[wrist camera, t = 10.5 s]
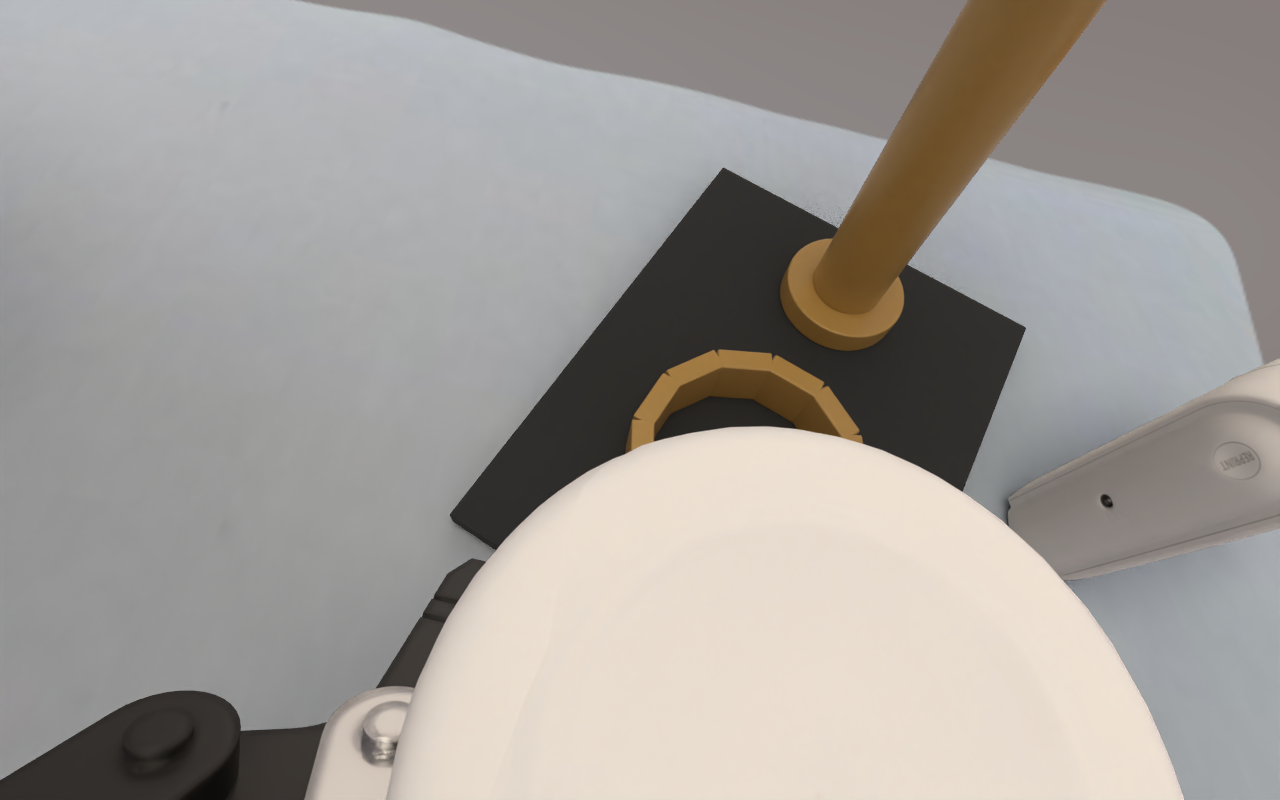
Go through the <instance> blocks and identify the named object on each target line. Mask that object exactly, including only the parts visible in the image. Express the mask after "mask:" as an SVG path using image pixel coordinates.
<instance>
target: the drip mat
mask: <svg viewBox="0 0 1280 800" xmlns="http://www.w3.org/2000/svg"><path fill="white" fill-rule="evenodd" d="M838 229H839V228H837V227H835V226H833V225H831V224H829V223H827V222H825V221H823V220H822V219H820V218H818V217H816V216H814V215H812V214H810V213H808V212H806V211H804V210H803V209H801V208H799V207H797V206H795V205H793V204H791V203H789V202H787V201H786V200H784V199H782V198H780V197H778V196H776V195H774V194H772V193H770V192H769V191H767V190H765V189H763V188H761V187H759V186H757V185H755V184H753V183H752V182H750V181H748V180H746V179H744V178H742V177H740V176H738V175H736V174H735V173H733V172H731V171H729V170H727V169H725V168H723V169H722V170H721V171H720V172H719V174H718V175H717V176H716V177H715V179H714V180H713V181H712V182H711V184H710V185H709V186H708V188H707V189H706V190H705V191H704V193H703V194H702V195H701V196H700V198H699V199H698V200H697V202H696V203H695V204H694V205H693V207H692V208H691V209H690V210H689V212H688V213H687V214H686V215H685V217H684V218H683V219H682V221H681V222H680V223H679V224H678V226H677V227H676V228H675V229H674V231H673V232H672V233H671V235H670V236H669V237H668V238H667V240H666V241H665V242H664V243H663V245H662V246H661V247H660V248H659V250H658V251H657V252H656V254H655V255H654V256H653V257H652V259H651V260H650V261H649V262H648V264H647V265H646V266H645V267H644V269H643V270H642V271H641V273H640V274H639V275H638V276H637V278H636V279H635V280H634V281H633V283H632V284H631V285H630V287H629V288H628V289H627V290H626V292H625V293H624V294H623V295H622V297H621V298H620V299H619V300H618V302H617V303H616V304H615V306H614V307H613V308H612V309H611V311H610V312H609V313H608V314H607V316H606V317H605V318H604V320H603V321H602V322H601V323H600V325H599V326H598V327H597V328H596V330H595V331H594V332H593V333H592V335H591V336H590V337H589V339H588V340H587V341H586V342H585V344H584V345H583V346H582V347H581V349H580V350H579V351H578V353H577V354H576V355H575V356H574V358H573V359H572V360H571V361H570V363H569V364H568V365H567V366H566V368H565V369H564V370H563V372H562V373H561V374H560V375H559V377H558V378H557V379H556V380H555V382H554V383H553V384H552V386H551V387H550V388H549V389H548V391H547V392H546V393H545V394H544V396H543V397H542V398H541V399H540V401H539V402H538V403H537V405H536V406H535V407H534V408H533V410H532V411H531V412H530V413H529V415H528V416H527V417H526V419H525V420H524V421H523V422H522V424H521V425H520V426H519V427H518V429H517V430H516V431H515V432H514V434H513V435H512V436H511V438H510V439H509V440H508V441H507V443H506V444H505V445H504V446H503V448H502V449H501V450H500V452H499V453H498V454H497V455H496V457H495V458H494V459H493V460H492V462H491V463H490V464H489V465H488V467H487V468H486V469H485V471H484V472H483V473H482V474H481V476H480V477H479V478H478V479H477V481H476V482H475V483H474V485H473V486H472V487H471V488H470V490H469V491H468V492H467V493H466V495H465V496H464V497H463V498H462V500H461V501H460V502H459V504H458V505H457V506H456V507H455V509H454V510H453V511H452V512H451V514H450V516H451V518H452V520H453V522H455V523H456V524H458V525H459V526H461V527H462V528H464V529H465V530H467V531H468V532H470V533H471V534H473V535H474V536H476V537H477V538H479V539H480V540H482V541H483V542H485V543H486V544H488V545H489V546H491V547H492V548H494V549H495V550H497V549H498V547H499V546H500V545H501V544H502V543H503V541H504V540H505V539H506V538H507V537H508V536H509V535H510V534H511V533H512V532H513V531H514V530H515V529H516V528H517V527H518V526H519V525H520V524H521V523H522V522H523V521H524V520H525V519H526V518H527V517H528V516H529V515H530V514H531V513H532V512H533V511H535V510H536V509H537V508H538V507H539V506H540V505H541V504H543V503H544V502H545V501H546V500H548V499H549V498H550V497H551V496H553V495H554V494H555V493H557V492H558V491H559V490H561V489H562V488H564V487H565V486H567V485H568V484H570V483H571V482H573V481H574V480H576V479H577V478H579V477H580V476H582V475H583V474H585V473H586V472H588V471H590V470H592V469H594V468H596V467H598V466H600V465H602V464H604V463H606V462H608V461H610V460H612V459H614V458H616V457H619V456H622V455H624V454H626V444H627V439H628V435H629V431H630V427H631V422H632V420H633V417H634V414H635V412H636V411H637V410H638V408H639V407H640V405H641V404H642V402H643V401H644V400H645V398H646V397H647V395H648V394H649V392H650V391H651V390H652V388H653V387H654V385H655V384H656V382H657V381H658V379H659V378H660V377H661V375H662V374H663V373H665V374H666V371H667V370H668V369H671V368H673V367H675V366H678V365H680V364H682V363H685V362H687V361H689V360H692V359H694V358H696V357H698V356H701V355H703V354H705V353H708V352H710V351H712V350H714V351H715V352H716V354H717V351H718V350H720V349H721V350H733V351H746V352H759V353H770V354H772V360H773V358H774V356H776V355H777V356H779V357H781V358H783V359H784V360H786V361H788V362H790V363H791V364H793V365H795V366H797V367H798V368H800V369H802V370H804V371H806V372H807V373H809V374H811V375H813V376H814V377H816V378H818V379H820V380H821V381H823V382H824V385H823V387H825V386H828V387H829V388H830V389H831V391H832V392H833V394H834V395H835V396H836V398H837V399H838V401H839V402H840V404H841V405H842V406H843V408H844V409H845V411H846V412H847V413H848V415H849V416H850V418H851V419H852V420H853V422H854V423H855V425H856V426H857V427H858V429H859V433H858V434H857V435H861V436H862V440H863V444H865V445H868V446H871V447H874V448H877V449H880V450H883V451H885V452H887V453H890V454H892V455H894V456H896V457H899V458H901V459H903V460H905V461H908V462H910V463H912V464H914V465H917V466H918V467H920V468H922V469H924V470H926V471H928V472H930V473H932V474H934V475H936V476H938V477H939V478H941V479H942V480H944V481H946V482H947V483H949V484H950V485H952V486H954V487H955V488H957V489H958V490H960V491H963V489H964V486H965V483H966V481H967V478H968V476H969V473H970V471H971V468H972V465H973V463H974V460H975V458H976V455H977V453H978V450H979V447H980V445H981V442H982V440H983V437H984V435H985V432H986V430H987V427H988V424H989V422H990V419H991V417H992V414H993V412H994V409H995V406H996V404H997V401H998V399H999V396H1000V394H1001V391H1002V388H1003V386H1004V383H1005V381H1006V378H1007V376H1008V373H1009V370H1010V368H1011V365H1012V363H1013V360H1014V358H1015V355H1016V353H1017V350H1018V347H1019V345H1020V342H1021V340H1022V337H1023V335H1024V332H1025V329H1026V328H1025V327H1024V326H1022V325H1020V324H1018V323H1016V322H1014V321H1012V320H1011V319H1009V318H1007V317H1005V316H1003V315H1001V314H999V313H997V312H995V311H994V310H992V309H990V308H988V307H986V306H984V305H982V304H980V303H978V302H977V301H975V300H973V299H971V298H969V297H967V296H965V295H963V294H961V293H960V292H958V291H956V290H954V289H952V288H950V287H948V286H946V285H944V284H943V283H941V282H939V281H937V280H935V279H933V278H931V277H929V276H927V275H925V274H924V273H922V272H920V271H918V270H916V269H914V268H912V267H910V266H908V265H906V266H905V268H904V269H903V270H902V272H901V273H900V274H899V276H898V277H899V279H900V281H901V284H902V287H903V291H904V306H903V310H902V313H901V315H900V317H899V319H898V320H897V322H896V323H895V324H894V325H893V327H892V328H891V329H890V330H889V331H888V332H887V334H886V335H885V336H884V337H883V338H882V339H881V340H880V341H878V342H877V343H875V344H874V345H872V346H870V347H867V348H864V349H860V350H853V351H842V350H835V349H831V348H827V347H824V346H822V345H819V344H817V343H815V342H813V341H812V340H810V339H808V338H807V337H805V336H804V335H803V334H802V333H800V332H799V331H798V330H797V329H796V328H795V327H794V325H793V324H792V323H791V322H790V320H789V319H788V317H787V315H786V313H785V311H784V309H783V306H782V303H781V297H780V287H781V282H782V279H783V276H784V274H785V272H786V270H787V268H788V266H789V264H790V262H791V261H792V259H793V257H794V256H795V255H796V253H797V252H798V251H799V250H801V249H802V248H803V247H805V246H806V245H808V244H810V243H812V242H815V241H818V240H823V239H833V237H834V236H835V234H836V232H837V230H838ZM823 387H822V388H823ZM764 426H768V427H779V428H791V429H797V428H796V427H795V425H794V424H793V423H792V422H791V421H789V420H787V419H786V418H784V417H782V416H780V415H779V414H777V413H775V412H774V411H772V410H770V409H769V408H767V407H765V406H763V405H762V404H760V403H758V402H757V401H755V400H753V399H742V398H729V397H715V396H708V397H706V398H704V399H702V400H700V401H697V402H695V403H693V404H691V405H689V406H686V407H684V408H682V409H680V410H678V411H676V412H673V413H671V414H670V415H669V417H668V418H667V420H666V421H665V423H664V424H663V426H662V427H661V429H660V430H659V432H658V433H657V435H656V436H655V438H654V442H655V441H659V440H662V439H666V438H671V437H675V436H680V435H684V434H689V433H694V432H701V431H708V430H714V429H721V428H728V427H764Z"/></svg>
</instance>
